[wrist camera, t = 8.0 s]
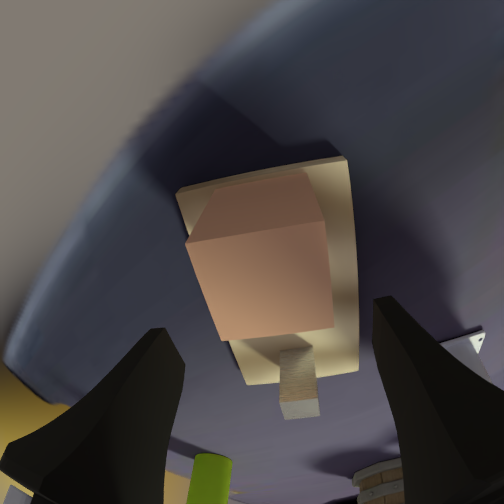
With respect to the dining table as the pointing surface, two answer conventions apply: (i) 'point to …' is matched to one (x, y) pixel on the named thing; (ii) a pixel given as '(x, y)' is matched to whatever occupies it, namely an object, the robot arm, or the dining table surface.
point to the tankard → (380, 483)
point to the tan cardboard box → (264, 259)
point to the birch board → (340, 261)
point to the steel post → (298, 383)
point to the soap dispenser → (210, 479)
